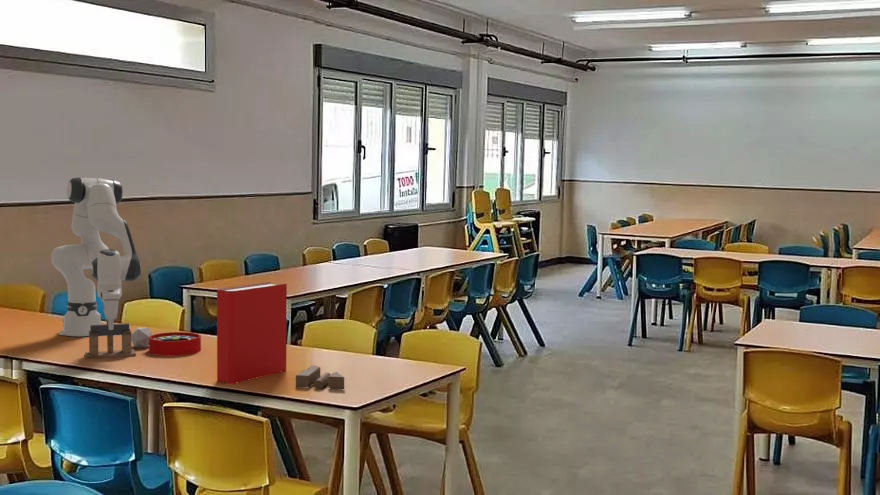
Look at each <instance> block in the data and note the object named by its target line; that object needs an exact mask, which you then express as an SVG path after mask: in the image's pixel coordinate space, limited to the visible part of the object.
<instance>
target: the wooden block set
mask: <svg viewBox="0 0 880 495" xmlns="http://www.w3.org/2000/svg"><path fill="white" fill-rule="evenodd" d="M312 384H313V385H312ZM327 384H328V386H327V387H328V388H330V389H329V390H337V389H344V390H345V377H344V376H343V375H342V374H340V373H339V372H338V371H335V372H332V373H330V372H324V374H322V375H321V367H320V366H318V365H314V364H313V365H310V366H308V367H307V368H306V369H303V370H302V371H300V372H299V373H297V374H296V375H295V388H299V387H309V388H311V387H312V386H313V387H314V389H316V390H321V389H323V388H324V387H325V386H326V385H327ZM311 385H312V386H311ZM310 386H311V387H310ZM328 388H327V389H328Z"/></svg>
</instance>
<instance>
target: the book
mask: <svg viewBox="0 0 880 495" xmlns="http://www.w3.org/2000/svg"><path fill="white" fill-rule="evenodd" d="M287 285H288V283H282V284H272V283H271V281H267V282H265V281H264V282H259V283H258V282H257V283H251V284H245V285H243V284H242V285H235V286H230V287H222V288H217V289H216V361H217V362H216V378H217V380H216V382H217V381H220V382H219V383H222V382H225V383H224V384H227V383H235V384H237V383H236V382H239V383H241V382H240V381H243V380H247V381H249V380H248V379H251V380H253V379H252V378H255V379H257V378H256V377H259V378H261V377H260V376H262V377H265V375H266V376H270V375H273V373H274V374H278V373H282V372H286V371H287V320H288V318H287V317H288V316H287V314H288V313H287V312H288V311H287V306H288V304H287V301H288V300H287V299H288V297H287V293H288V292H287V289H288V288H287ZM285 370H286V371H285ZM281 371H282V372H281ZM277 372H278V373H277ZM269 374H270V375H269ZM243 382H244V381H243Z"/></svg>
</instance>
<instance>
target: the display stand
mask: <svg viewBox="0 0 880 495" xmlns="http://www.w3.org/2000/svg"><path fill="white" fill-rule="evenodd" d="M131 334H132V331H131V328H129V331H123V335H121V349H118V350H114V335H110V336H106V338H107V339H106V340H107V343H106V347H107V350H102V351H101V350H100V351H99V336H98V333H90V331H89V336H88V338H89V340H88V345H89V346H88V348H89V350H88V351H85V352H84V355H85V356H84V357H85V359H86V360H89V359H92V360H93V359H107V358H123V357H136V355H137V354H136V351H135V349H133V348H132V341H131Z"/></svg>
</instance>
